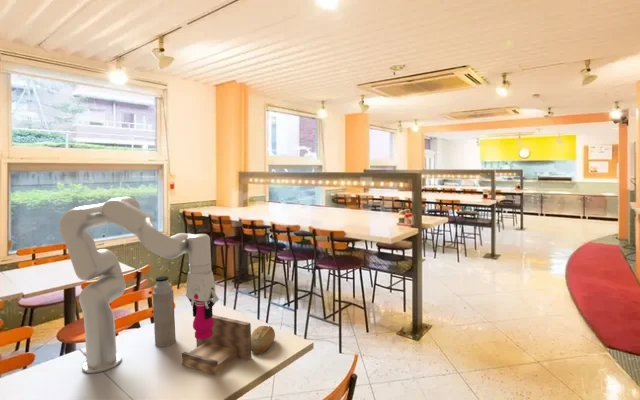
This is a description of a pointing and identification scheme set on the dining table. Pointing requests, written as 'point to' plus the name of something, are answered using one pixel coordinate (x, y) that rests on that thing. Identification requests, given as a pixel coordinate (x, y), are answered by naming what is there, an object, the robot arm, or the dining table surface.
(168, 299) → the thermos bottle
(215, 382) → the dining table surface
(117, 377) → the dining table surface
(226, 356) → the wall shelf
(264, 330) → the bread roll
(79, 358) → the dining table surface
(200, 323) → the pepper mill
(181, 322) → the dining table surface
